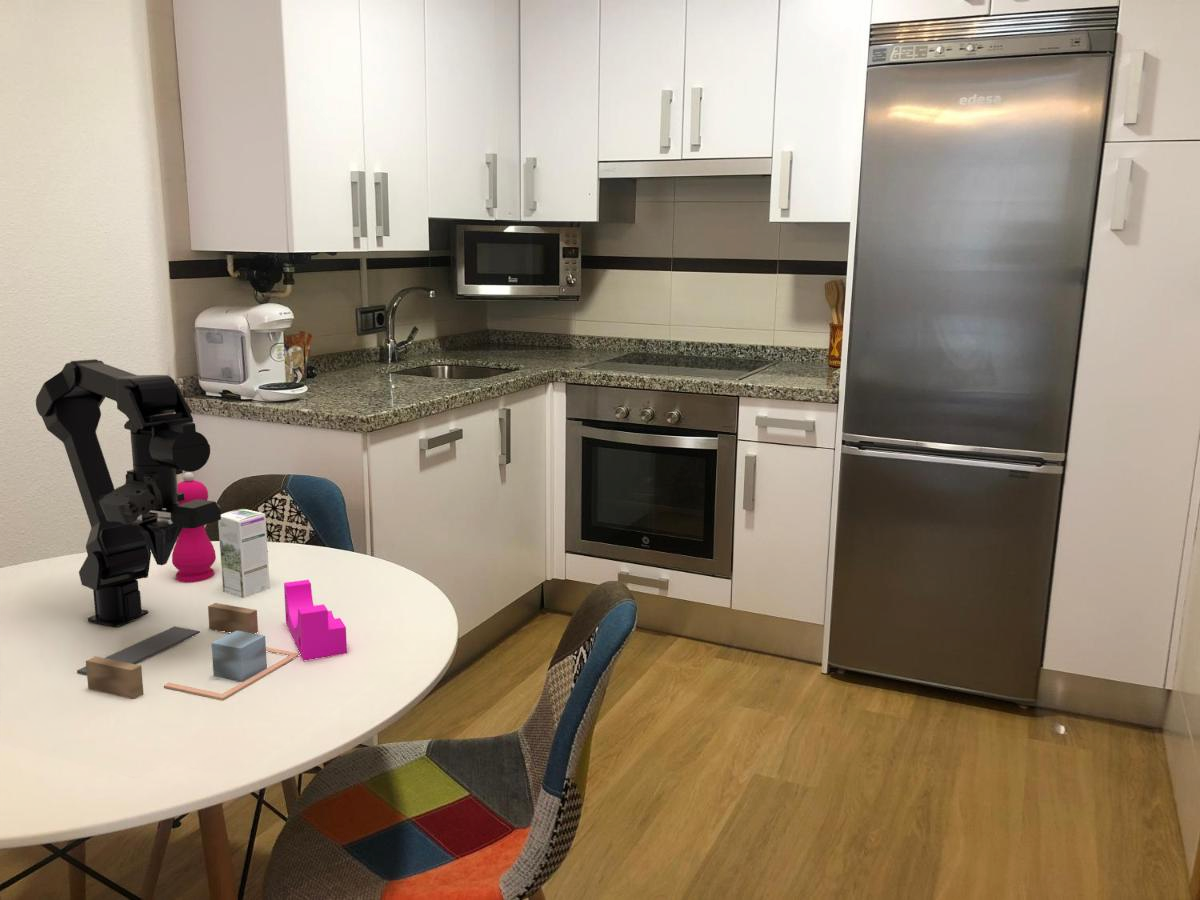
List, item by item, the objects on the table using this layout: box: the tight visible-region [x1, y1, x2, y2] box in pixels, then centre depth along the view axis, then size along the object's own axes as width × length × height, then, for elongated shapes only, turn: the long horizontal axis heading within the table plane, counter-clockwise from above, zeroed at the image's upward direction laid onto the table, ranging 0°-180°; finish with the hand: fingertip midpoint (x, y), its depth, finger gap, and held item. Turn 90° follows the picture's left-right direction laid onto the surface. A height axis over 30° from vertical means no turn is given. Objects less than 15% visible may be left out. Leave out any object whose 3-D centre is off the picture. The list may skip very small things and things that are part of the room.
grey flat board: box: [76, 626, 201, 676], centre depth 144 cm, size 5×18×1 cm, turn 159°
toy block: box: [283, 579, 348, 662], centre depth 149 cm, size 15×6×8 cm, turn 27°
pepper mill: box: [171, 471, 217, 584], centre depth 173 cm, size 7×7×20 cm
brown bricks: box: [85, 602, 259, 700], centre depth 141 cm, size 8×24×4 cm, turn 159°
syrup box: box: [217, 508, 271, 599], centre depth 167 cm, size 6×6×14 cm
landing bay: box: [163, 646, 301, 701], centre depth 138 cm, size 10×16×1 cm, turn 159°
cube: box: [211, 631, 268, 683], centre depth 137 cm, size 5×5×5 cm
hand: (161, 564), depth 146 cm, fingers closed
